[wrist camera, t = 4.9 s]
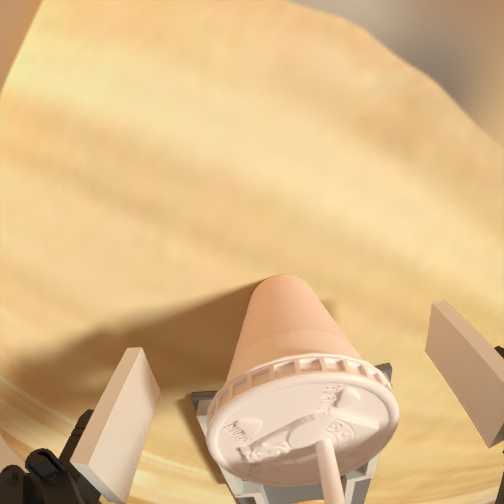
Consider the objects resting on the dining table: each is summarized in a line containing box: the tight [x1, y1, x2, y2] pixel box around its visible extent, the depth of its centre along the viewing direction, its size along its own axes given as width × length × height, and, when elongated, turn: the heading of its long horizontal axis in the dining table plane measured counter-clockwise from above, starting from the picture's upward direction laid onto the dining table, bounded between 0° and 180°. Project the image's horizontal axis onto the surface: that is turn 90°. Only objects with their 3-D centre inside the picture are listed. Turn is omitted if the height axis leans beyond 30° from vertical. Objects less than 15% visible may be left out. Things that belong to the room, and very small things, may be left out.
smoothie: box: [206, 275, 399, 504], centre depth 11 cm, size 6×6×14 cm
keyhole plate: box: [191, 363, 393, 504], centre depth 23 cm, size 14×26×2 cm, turn 9°
